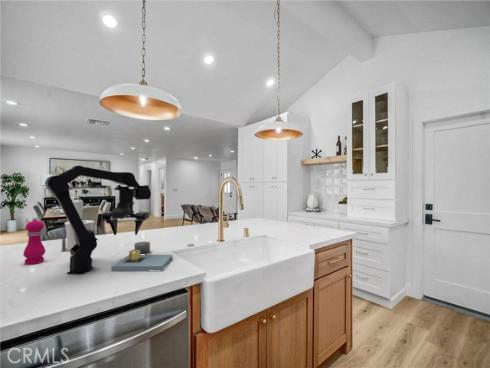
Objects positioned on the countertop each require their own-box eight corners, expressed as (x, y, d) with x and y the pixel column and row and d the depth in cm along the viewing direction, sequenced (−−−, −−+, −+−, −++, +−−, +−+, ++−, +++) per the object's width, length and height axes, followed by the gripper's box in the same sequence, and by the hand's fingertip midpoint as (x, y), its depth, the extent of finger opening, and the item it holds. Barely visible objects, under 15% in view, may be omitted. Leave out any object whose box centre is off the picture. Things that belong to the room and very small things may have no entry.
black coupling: (131, 255, 118) (132, 245, 118) (137, 251, 125) (138, 241, 125) (146, 255, 118) (146, 245, 118) (151, 251, 125) (152, 241, 125)
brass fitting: (127, 266, 101) (127, 252, 101) (131, 263, 106) (131, 249, 106) (137, 266, 101) (137, 252, 101) (141, 263, 106) (141, 249, 106)
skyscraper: (67, 248, 130) (68, 196, 130) (84, 247, 133) (85, 196, 133) (60, 252, 122) (61, 197, 122) (79, 251, 125) (80, 197, 125)
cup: (78, 268, 99) (79, 224, 99) (57, 266, 101) (58, 223, 101) (99, 260, 109) (99, 220, 109) (79, 258, 111) (80, 220, 111)
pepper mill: (20, 263, 104) (20, 217, 104) (40, 259, 110) (41, 215, 110) (27, 266, 100) (28, 218, 101) (48, 261, 107) (49, 216, 107)
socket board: (111, 271, 95) (111, 266, 95) (129, 258, 111) (129, 254, 111) (161, 271, 96) (161, 266, 96) (172, 258, 112) (172, 254, 112)
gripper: (94, 201, 99) (93, 238, 99) (139, 201, 100) (139, 238, 100) (108, 199, 111) (108, 233, 110) (149, 200, 111) (149, 233, 111)
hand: (125, 234), depth 108 cm, fingers open, 9 cm apart
